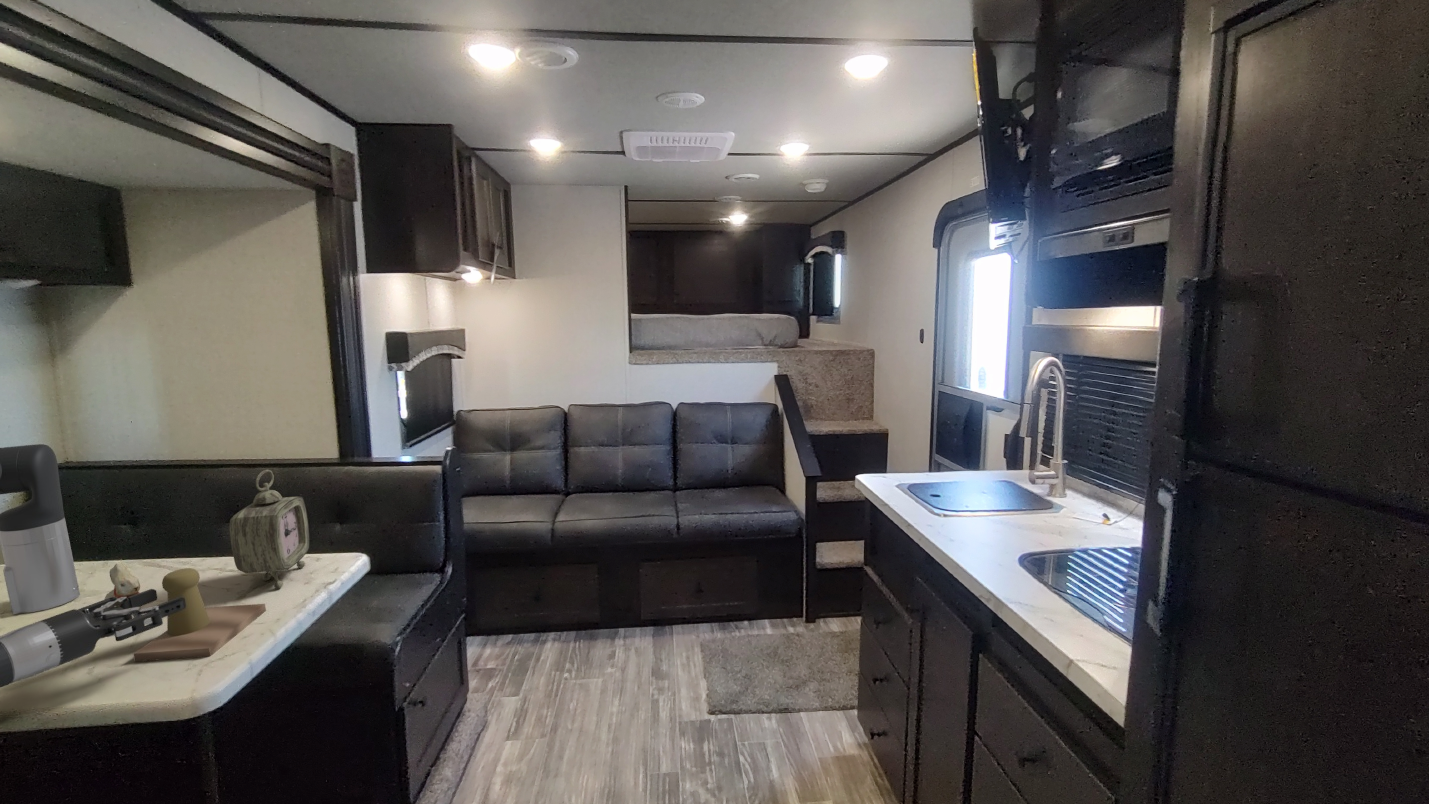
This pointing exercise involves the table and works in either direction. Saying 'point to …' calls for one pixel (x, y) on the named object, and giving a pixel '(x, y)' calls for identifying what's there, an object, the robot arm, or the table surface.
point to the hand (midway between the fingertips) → (169, 597)
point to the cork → (195, 612)
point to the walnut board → (203, 634)
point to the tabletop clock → (270, 533)
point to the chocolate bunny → (123, 582)
